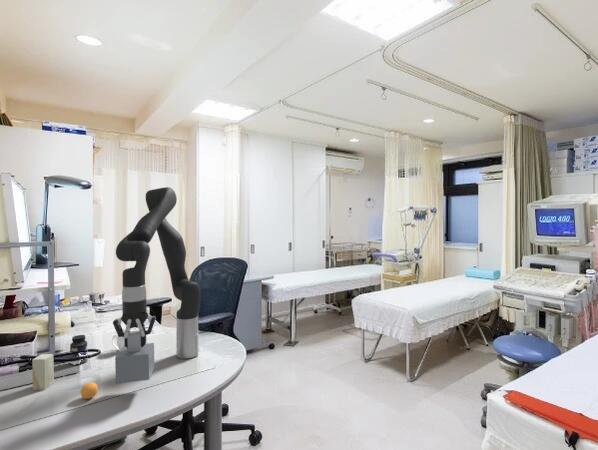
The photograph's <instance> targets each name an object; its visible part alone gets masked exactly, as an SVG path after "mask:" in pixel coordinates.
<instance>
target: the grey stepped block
mask: <svg viewBox="0 0 598 450" xmlns="http://www.w3.org/2000/svg"><path fill="white" fill-rule="evenodd" d="M127 337H128V349H127V347H125V346H123V347H122V349H121V350H120V351H119V350H118V351H119V352H117V354H116V356H115V357H114V360H115V361H114V365H115V366H114V367H115V385H117V384H123V383H131V382H133V383H134V382H140V381H150V378H151V377H152V373H153V371H154V369H155V342H149V343H147V342H146V344H145V345H144V347H141V333H140V331H139V330H130V333H129V334H128V335H127Z"/></svg>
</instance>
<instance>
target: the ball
mask: <svg viewBox="0 0 598 450" xmlns="http://www.w3.org/2000/svg"><path fill="white" fill-rule="evenodd" d="M98 391H99V387H98V385H97V384H96V383H95V382H87V383H85V384H83V386H82V387H81V389H80V396H81V397H82V398H83V399H84V400H89V399H92V398H94V397H95V396H96V394H97V393H98Z"/></svg>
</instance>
